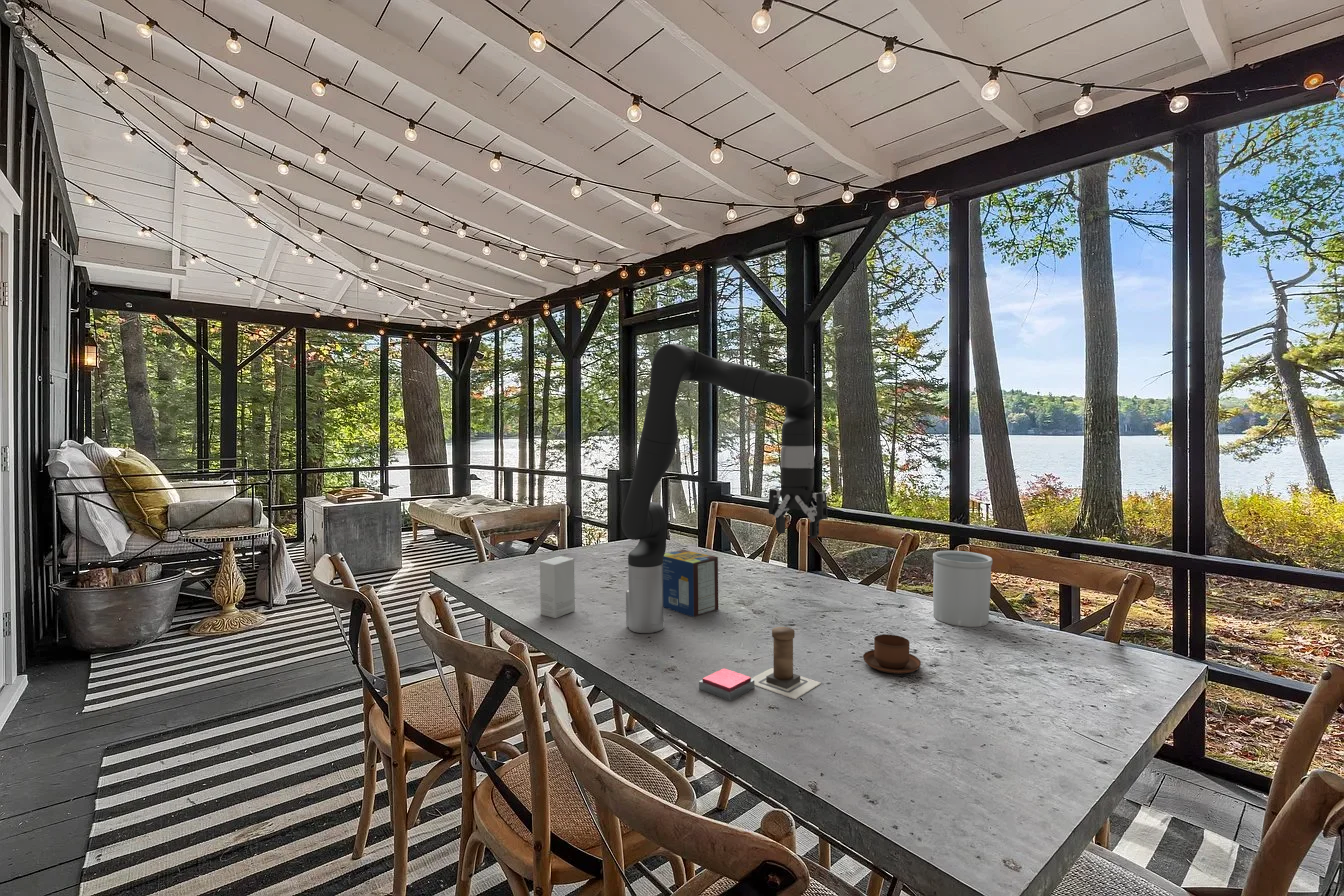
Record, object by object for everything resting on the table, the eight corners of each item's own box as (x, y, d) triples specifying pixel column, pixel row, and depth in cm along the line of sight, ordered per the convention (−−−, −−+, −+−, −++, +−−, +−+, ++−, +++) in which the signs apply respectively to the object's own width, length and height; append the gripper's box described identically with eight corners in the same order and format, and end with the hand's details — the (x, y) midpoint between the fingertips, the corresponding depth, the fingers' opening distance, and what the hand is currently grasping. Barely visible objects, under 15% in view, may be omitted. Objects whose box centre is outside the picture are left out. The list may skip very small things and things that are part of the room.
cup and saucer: (851, 662, 139) (851, 635, 139) (892, 654, 144) (892, 628, 144) (890, 682, 128) (890, 653, 128) (933, 673, 133) (933, 644, 133)
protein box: (682, 598, 190) (682, 549, 190) (719, 609, 179) (718, 556, 178) (657, 605, 183) (656, 554, 183) (693, 617, 172) (693, 562, 171)
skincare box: (560, 607, 182) (560, 555, 181) (576, 611, 178) (576, 558, 177) (539, 615, 175) (538, 560, 174) (555, 619, 171) (554, 563, 171)
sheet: (745, 682, 128) (745, 680, 128) (772, 668, 136) (772, 666, 136) (795, 699, 120) (795, 698, 120) (821, 683, 127) (821, 682, 127)
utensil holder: (1002, 621, 166) (1003, 557, 166) (972, 632, 158) (973, 564, 157) (951, 608, 179) (952, 548, 178) (920, 617, 170) (921, 554, 170)
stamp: (766, 682, 128) (766, 630, 127) (779, 674, 131) (779, 624, 131) (786, 689, 124) (786, 636, 124) (800, 681, 128) (800, 630, 128)
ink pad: (699, 688, 125) (699, 678, 125) (723, 677, 131) (723, 666, 131) (730, 700, 120) (730, 689, 120) (754, 687, 126) (754, 677, 125)
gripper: (762, 465, 143) (762, 534, 144) (816, 467, 134) (816, 541, 134) (780, 463, 149) (780, 530, 149) (833, 465, 139) (833, 537, 140)
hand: (797, 535), depth 142 cm, fingers open, 8 cm apart
